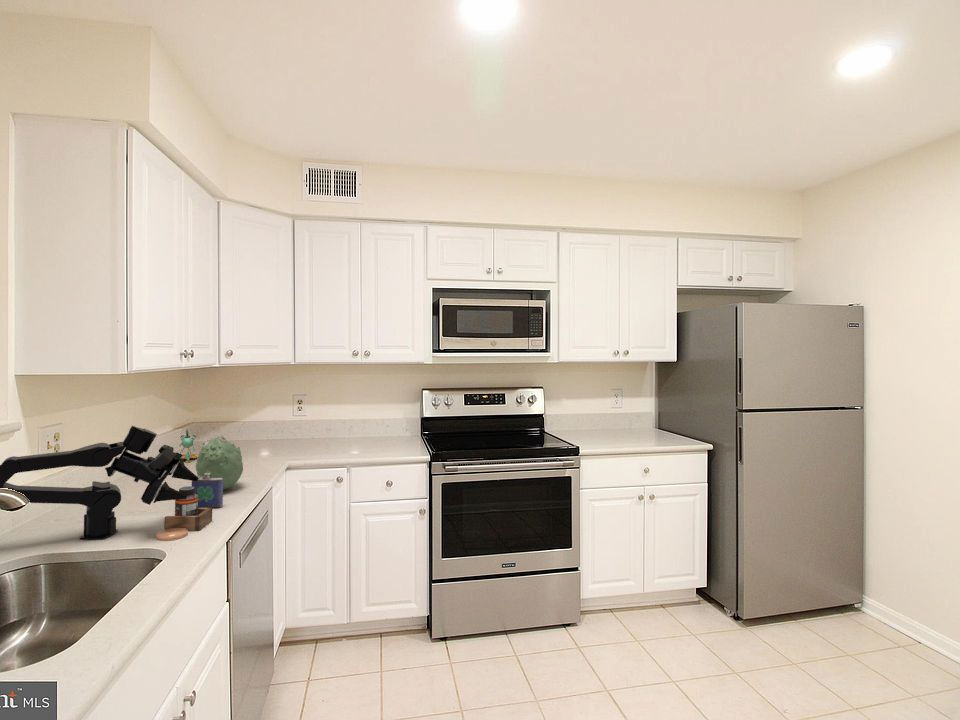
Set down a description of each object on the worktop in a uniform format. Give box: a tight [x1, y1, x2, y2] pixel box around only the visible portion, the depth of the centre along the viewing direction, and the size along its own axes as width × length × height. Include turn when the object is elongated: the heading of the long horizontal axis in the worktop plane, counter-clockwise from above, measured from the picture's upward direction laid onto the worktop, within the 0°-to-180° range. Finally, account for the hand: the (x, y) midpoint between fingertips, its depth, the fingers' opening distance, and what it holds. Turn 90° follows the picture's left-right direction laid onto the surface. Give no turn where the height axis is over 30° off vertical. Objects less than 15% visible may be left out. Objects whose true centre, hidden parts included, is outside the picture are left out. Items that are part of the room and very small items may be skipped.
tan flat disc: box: [155, 528, 189, 542], centre depth 147 cm, size 8×8×1 cm
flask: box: [191, 473, 224, 510], centre depth 173 cm, size 10×3×12 cm, turn 95°
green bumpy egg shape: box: [195, 435, 244, 491], centre depth 193 cm, size 16×19×20 cm
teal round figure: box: [179, 429, 199, 464], centre depth 244 cm, size 10×18×15 cm, turn 17°
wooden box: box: [163, 508, 213, 532], centre depth 155 cm, size 10×9×4 cm
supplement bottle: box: [174, 485, 198, 516], centre depth 155 cm, size 6×6×11 cm
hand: (192, 488), depth 154 cm, fingers open, 9 cm apart
